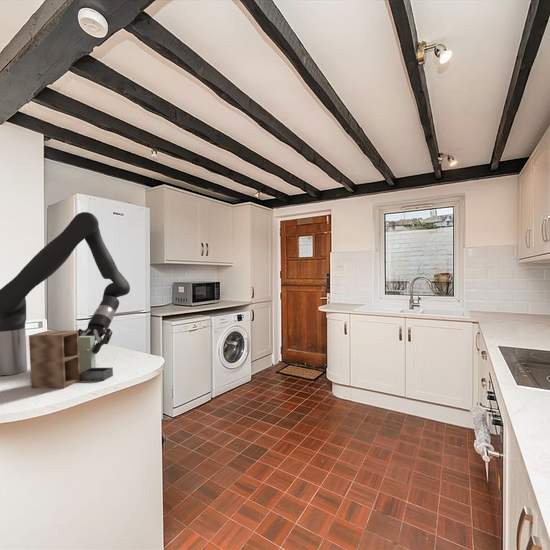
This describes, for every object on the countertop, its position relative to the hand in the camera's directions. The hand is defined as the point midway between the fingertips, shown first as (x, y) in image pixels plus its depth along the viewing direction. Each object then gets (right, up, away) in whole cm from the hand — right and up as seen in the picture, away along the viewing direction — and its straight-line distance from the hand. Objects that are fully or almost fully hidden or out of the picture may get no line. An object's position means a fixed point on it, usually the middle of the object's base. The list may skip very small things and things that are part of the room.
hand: (83, 353), depth 118 cm
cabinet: (-3, -8, -11) cm, 14 cm away
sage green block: (0, -8, +1) cm, 8 cm away
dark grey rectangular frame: (+9, -8, -6) cm, 13 cm away
